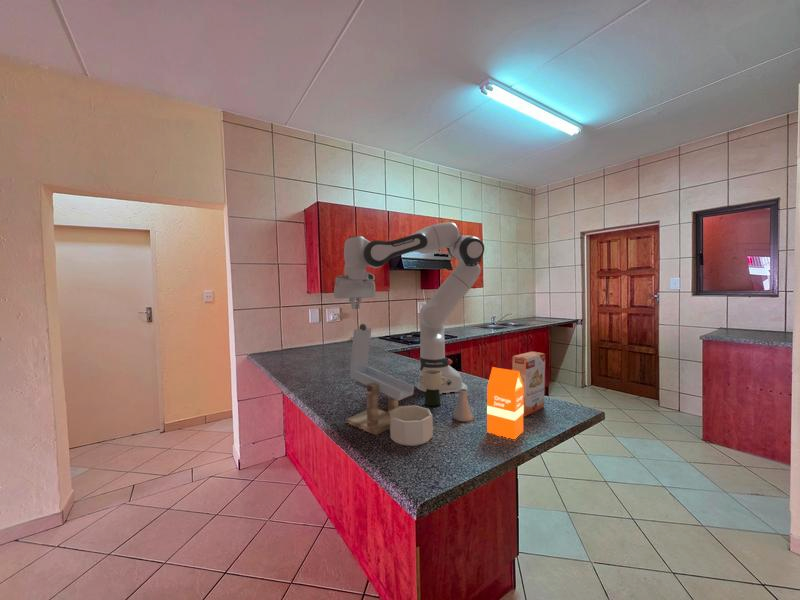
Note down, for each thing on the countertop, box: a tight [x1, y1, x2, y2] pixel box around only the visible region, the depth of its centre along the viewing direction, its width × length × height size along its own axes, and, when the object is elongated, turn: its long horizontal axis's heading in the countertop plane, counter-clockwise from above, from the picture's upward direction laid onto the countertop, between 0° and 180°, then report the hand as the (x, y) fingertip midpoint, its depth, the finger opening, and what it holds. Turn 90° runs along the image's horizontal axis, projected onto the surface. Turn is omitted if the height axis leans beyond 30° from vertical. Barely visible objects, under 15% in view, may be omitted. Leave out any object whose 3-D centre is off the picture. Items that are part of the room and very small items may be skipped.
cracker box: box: [511, 351, 546, 417], centre depth 116 cm, size 14×6×21 cm, turn 129°
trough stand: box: [345, 376, 399, 436], centre depth 107 cm, size 14×14×15 cm
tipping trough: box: [349, 323, 415, 402], centre depth 104 cm, size 23×7×21 cm, turn 50°
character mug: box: [418, 369, 446, 407], centre depth 123 cm, size 11×7×13 cm, turn 70°
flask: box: [452, 388, 475, 422], centre depth 110 cm, size 7×7×10 cm
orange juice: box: [486, 366, 524, 440], centre depth 99 cm, size 8×9×20 cm
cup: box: [389, 404, 434, 447], centre depth 97 cm, size 13×13×7 cm
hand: (355, 309), depth 131 cm, fingers closed
